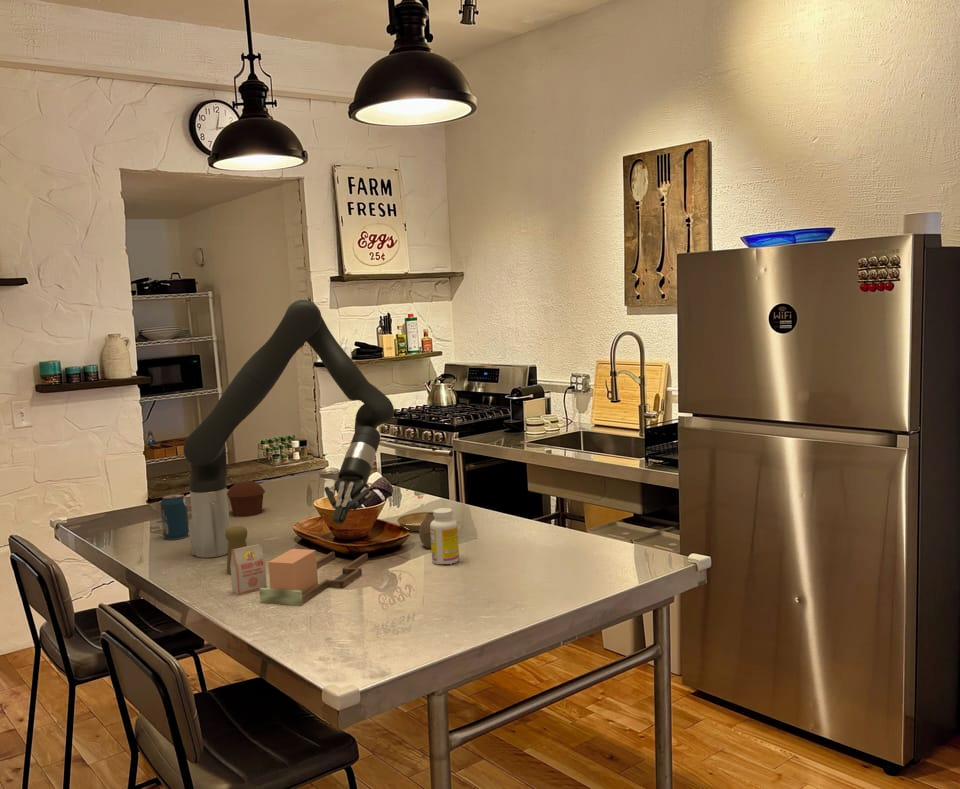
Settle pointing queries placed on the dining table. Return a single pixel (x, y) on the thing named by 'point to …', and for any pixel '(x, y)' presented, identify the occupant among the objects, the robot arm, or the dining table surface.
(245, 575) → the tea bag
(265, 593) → the trap lane
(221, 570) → the dining table surface
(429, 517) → the vase
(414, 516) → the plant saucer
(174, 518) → the soda can
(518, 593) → the dining table surface
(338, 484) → the robot arm
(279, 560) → the terracotta block
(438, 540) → the supplement bottle
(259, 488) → the muffin
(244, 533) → the olive ball-topped cylinder
